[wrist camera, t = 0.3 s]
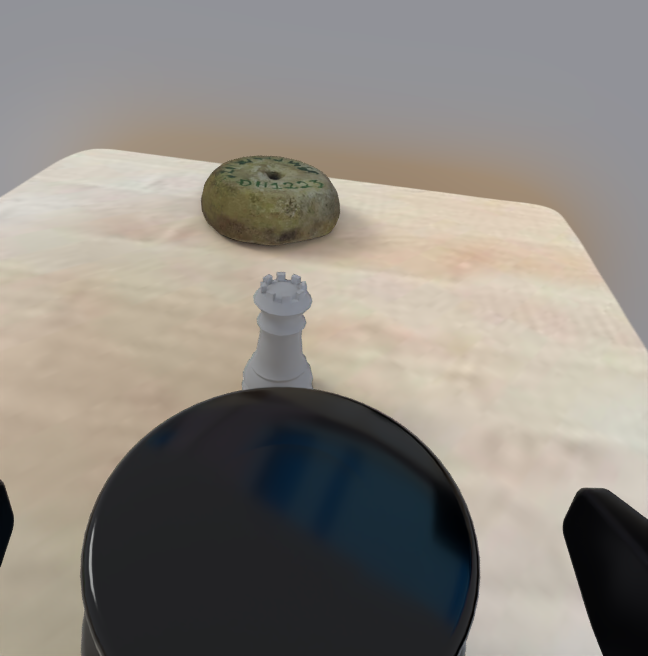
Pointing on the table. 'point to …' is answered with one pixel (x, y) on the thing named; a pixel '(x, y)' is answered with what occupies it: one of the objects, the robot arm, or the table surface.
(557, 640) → the table surface
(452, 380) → the table surface
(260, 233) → the weight
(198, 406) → the supplement container
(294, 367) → the rook chess piece
